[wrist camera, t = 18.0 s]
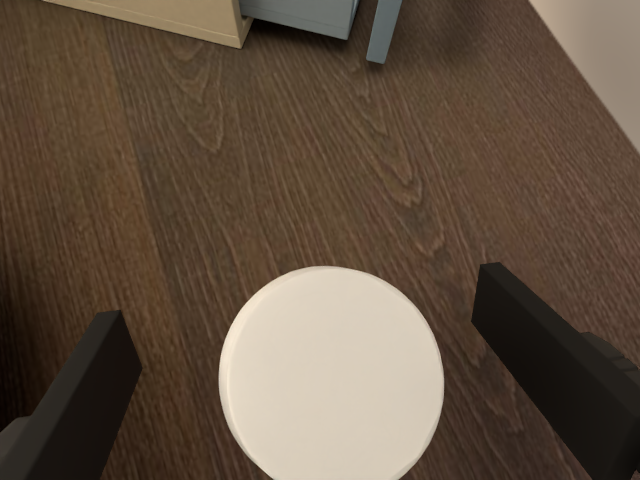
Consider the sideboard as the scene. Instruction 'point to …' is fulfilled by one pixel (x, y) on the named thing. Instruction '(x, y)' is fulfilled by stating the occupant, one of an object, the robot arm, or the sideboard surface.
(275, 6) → the drawer
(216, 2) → the cabinet
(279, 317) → the pill bottle
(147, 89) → the sideboard surface
